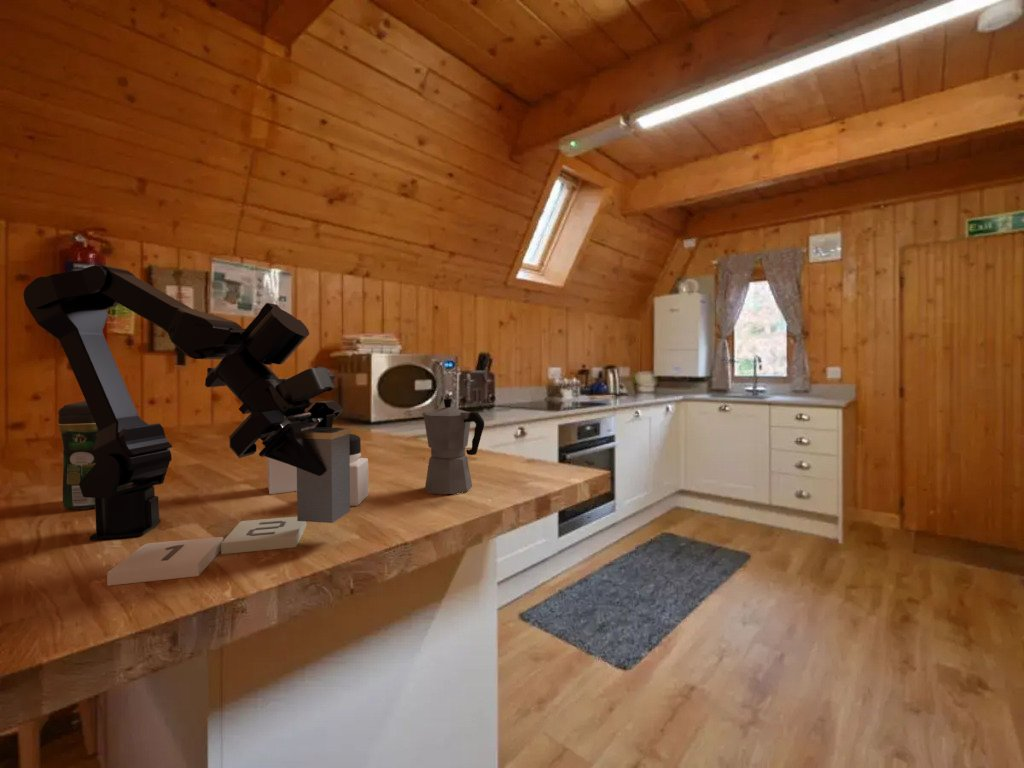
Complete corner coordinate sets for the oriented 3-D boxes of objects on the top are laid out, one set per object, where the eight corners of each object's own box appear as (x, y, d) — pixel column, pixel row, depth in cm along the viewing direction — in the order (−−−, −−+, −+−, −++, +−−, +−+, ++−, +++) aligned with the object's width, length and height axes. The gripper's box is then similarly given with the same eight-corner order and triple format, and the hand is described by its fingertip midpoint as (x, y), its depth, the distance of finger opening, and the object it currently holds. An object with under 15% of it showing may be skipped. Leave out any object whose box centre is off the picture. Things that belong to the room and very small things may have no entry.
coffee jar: (90, 496, 90) (85, 398, 90) (137, 494, 92) (133, 397, 91) (51, 512, 81) (46, 402, 80) (105, 509, 82) (100, 401, 82)
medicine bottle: (369, 495, 90) (368, 431, 90) (358, 506, 83) (357, 437, 83) (331, 495, 90) (329, 432, 90) (316, 507, 83) (315, 438, 83)
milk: (267, 488, 96) (264, 378, 96) (300, 483, 99) (297, 377, 98) (269, 494, 91) (265, 378, 90) (304, 490, 94) (300, 378, 93)
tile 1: (107, 585, 54) (106, 571, 54) (146, 554, 62) (145, 542, 62) (198, 576, 56) (197, 562, 56) (223, 547, 65) (222, 536, 65)
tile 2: (221, 554, 62) (221, 542, 62) (241, 531, 71) (241, 520, 71) (296, 547, 65) (295, 535, 65) (306, 525, 73) (306, 515, 73)
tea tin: (296, 521, 64) (294, 432, 64) (317, 509, 69) (316, 427, 69) (332, 523, 64) (331, 433, 63) (351, 511, 69) (350, 428, 68)
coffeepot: (407, 489, 94) (406, 398, 93) (440, 479, 102) (439, 395, 101) (467, 502, 86) (466, 401, 85) (499, 490, 93) (498, 398, 92)
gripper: (249, 344, 57) (337, 440, 56) (330, 349, 75) (398, 420, 74) (191, 409, 58) (276, 503, 57) (285, 398, 77) (350, 469, 76)
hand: (333, 469), depth 66 cm, fingers closed on tea tin, 5 cm apart
